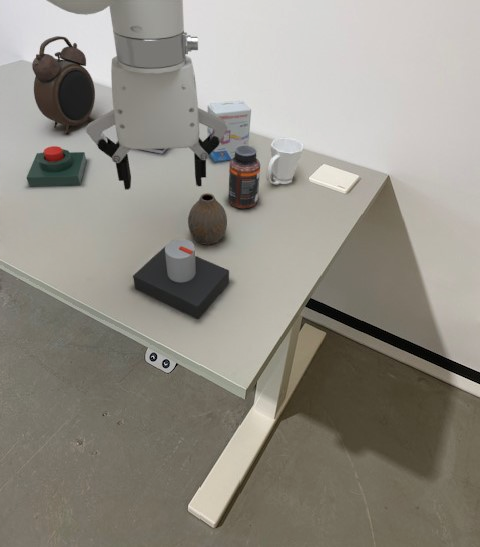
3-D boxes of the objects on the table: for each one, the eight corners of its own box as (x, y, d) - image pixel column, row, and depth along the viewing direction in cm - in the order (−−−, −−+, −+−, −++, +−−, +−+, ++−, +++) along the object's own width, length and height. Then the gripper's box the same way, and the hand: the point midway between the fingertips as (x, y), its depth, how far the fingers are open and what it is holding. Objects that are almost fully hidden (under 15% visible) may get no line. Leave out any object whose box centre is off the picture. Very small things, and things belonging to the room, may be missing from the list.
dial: (161, 275, 65) (158, 249, 61) (178, 259, 67) (176, 233, 64) (185, 286, 63) (183, 260, 59) (201, 269, 66) (200, 243, 62)
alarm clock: (66, 140, 100) (42, 49, 86) (42, 133, 102) (16, 43, 88) (105, 118, 110) (89, 33, 96) (83, 112, 112) (65, 27, 98)
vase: (191, 252, 73) (190, 211, 67) (186, 228, 78) (184, 187, 72) (230, 247, 75) (231, 206, 69) (222, 224, 80) (223, 184, 73)
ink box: (214, 163, 96) (214, 112, 87) (207, 153, 99) (206, 103, 91) (248, 157, 98) (251, 108, 90) (240, 148, 102) (243, 99, 93)
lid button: (44, 162, 86) (41, 154, 84) (47, 154, 88) (45, 146, 87) (62, 162, 86) (60, 154, 85) (65, 153, 89) (63, 145, 87)
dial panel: (135, 289, 66) (132, 275, 64) (169, 257, 72) (167, 243, 70) (198, 319, 63) (197, 306, 60) (228, 283, 68) (229, 270, 66)
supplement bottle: (263, 203, 85) (268, 152, 77) (241, 213, 82) (245, 161, 74) (243, 190, 88) (247, 139, 80) (222, 199, 85) (223, 148, 77)
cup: (304, 178, 93) (310, 144, 87) (280, 197, 87) (284, 162, 81) (278, 167, 96) (282, 133, 90) (252, 185, 90) (255, 150, 84)
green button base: (29, 186, 86) (23, 169, 83) (39, 162, 93) (34, 145, 90) (80, 185, 87) (76, 168, 84) (86, 161, 94) (82, 144, 91)
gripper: (224, 38, 50) (222, 166, 62) (73, 37, 48) (101, 171, 60) (232, 59, 45) (228, 195, 57) (63, 59, 42) (96, 201, 54)
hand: (163, 182), depth 58 cm, fingers open, 9 cm apart
